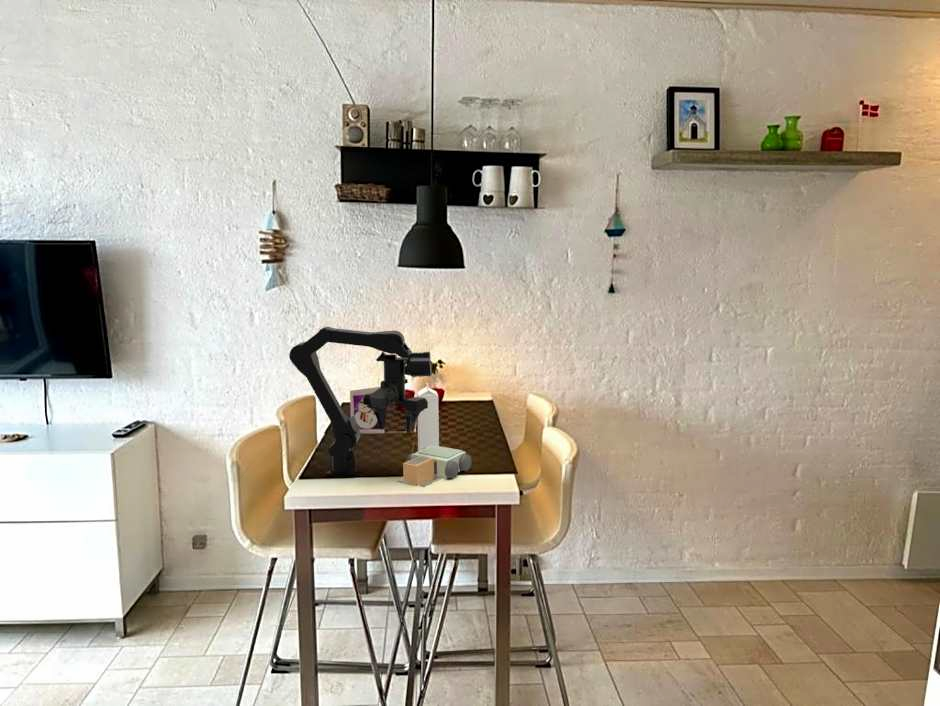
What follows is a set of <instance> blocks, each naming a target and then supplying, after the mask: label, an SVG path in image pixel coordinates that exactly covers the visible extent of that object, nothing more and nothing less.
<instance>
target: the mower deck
mask: <svg viewBox="0 0 940 706" xmlns="http://www.w3.org/2000/svg"><path fill="white" fill-rule="evenodd" d="M419 456H425V457H430V458H434V475H437V476H442V478H441V479H445V478H446V479H455V478H456V477H457V476H458V472H459V473H460V471H461V472H468V471H469V470H470V468H471V467H472V457H471V455H469V454H467V452H466V451H464V450H462V449H457V448H451V447H445V446H441V445H439V446H435V445H434V446H430V447H428V448H423V449H422V450H421V451H418V450H417V451H416V452H414V453H409V454H408V455H407V456H406V459H405V462H407V461H410V460H412V459H414V458H417V457H419Z"/></svg>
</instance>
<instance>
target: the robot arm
mask: <svg viewBox="0 0 940 706" xmlns="http://www.w3.org/2000/svg"><path fill="white" fill-rule="evenodd" d="M405 342H406V341H405V336H404V335H403V333H401V332H400V331H399V330H383V331H374V332H373V331H371V332H370V331H364V330H363V331H361V330H352V329H346V328H336V327H335V328H334V327H330V326H324V327H323V328H321V329H319V330H318V332H317V333H315V334H314V335H312V336H311V337H310V338H309V339H308V340H307V341H303V342H300V343H298V344H296V345H295V346H293V347H292V348H291V349H290V350H289V354H288V355H289V356H288V357H289V360H290V362H291V364H293V366H294V367H295V368H296V369H297V370H298V371H299V372H300V374H302V375H303V376H304V377H305V378H306V379H307V381H308V383H309V385H310V387H311V388H312V390H313V393H314V394H315V396H316V398H317V399H318V401H319V403H320V405H321V406H322V407H321V408H322V409H324V412H325V414H326V415H327V418H328V419H329V421H330V423H331V429H332V433H333V438H334V440H333V442H332V443H331V445H330V446H329V447H328V449H327V450H328V454H329V466H330V468H329V469H330V470H328V471H326V475H328V476H329V475H330V476H334V477H338V478H346V477H348V476H351V475H353V474H355V473H358V472H359V469H356V459H355V453H354V452H355V451H352V449H353V448H355V446H356V445H357V443H358V442H359V439H360V437H361V433H360V430H359V429H360V428H361V427H360V426H359V425H358V424H357V422H356V420H355V417H354V416H352V417H351V416H350V417H349V416H348V415H347V414H346V413H345V412H344V410H343V408H342V406H341V405H340V402H339V401H338V399H337V397H336V395H335V394H334V393H335V392H333V390H332V388H331V386H330V384H329V382H328V381H327V379H326V377H325V375H324V372H322V369H321V365H320V360H319V356H318V353H317V351H319V350H320V349H322V348H323V347H324V346H325V345H327V343H331V344H342V345H351V346H360V347H369V348H372V349H376V350H378V352H379V351H381V353H380V355H379V356H377V358H376V359H375V361H376V362H383V380H381V381H380V386H379V387H380V388H379V389H377V390H376V391H375V392H372V393H369V394H365V396H364V398H363V405H368V406H367V408H370V409H371V410H372V411H373V412H374V413H375V415H376V418H377V420H378V423H379V425H380V428H381V430H383V429H384V430H385V428H386V420H387V419H386V418H387V410H388V407H389V405H392V406H393V405H395V406H401V407H403V408H404V409H405V411H403V414H404V415H405V418H406V421H405V422H406V434H407V435H410V434H411V433H412V431H413V428H414V426H415V424H416V422H417V420H418V416H419V414H420V412H421V411H424V409H426V408H428V402H427V400H426V399H425V398H420V397H417V396H414V397H411V398H409V394H408V393H406V384H408V383H409V381H408V378H407V379H406V377H405V373H406V374H408V375H410V377H416V378H417V377H419V378H420V377H423V378H425V377H432V361H431V352H430V351H423V352H422V351H421V352H413V351H412V350H411V348H409V346H408V345H407V343H405ZM405 363H406V365H405ZM405 366H406V367H405ZM405 368H406V372H405ZM406 398H407V399H406Z"/></svg>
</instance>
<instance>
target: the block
mask: <svg viewBox="0 0 940 706" xmlns="http://www.w3.org/2000/svg"><path fill="white" fill-rule="evenodd" d="M402 470H403V471H402V472H403V476H402V477H403V481H405V482H409V483H414V484H418V483H420V482H422V481H424V480H426V479H429V478H431V477H433V476H434V458H430V457H425V456H419V457H417V458H414V459H412V460H410V461H407V462H406V461H405V462H403V463H402Z"/></svg>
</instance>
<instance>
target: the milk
mask: <svg viewBox="0 0 940 706" xmlns="http://www.w3.org/2000/svg"><path fill="white" fill-rule="evenodd" d="M416 397H420V398H425V399H426V400H427V402H428V408H426V409H424V411H421V412H420V414H419V416H418V418H417V452H418V451H421V450H422V449H423V448H428V447H430V446H434V445H435V446H440V435H439V434H440V433H439V431H440V425H439V421H440V420H439V415H440V414H439V394H438V392H437V391H436V390H435V389H432V388H431V387H429V384H428V382H427V381H426V385H425V387H423V388H422V389H419V391H417V392H416Z"/></svg>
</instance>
